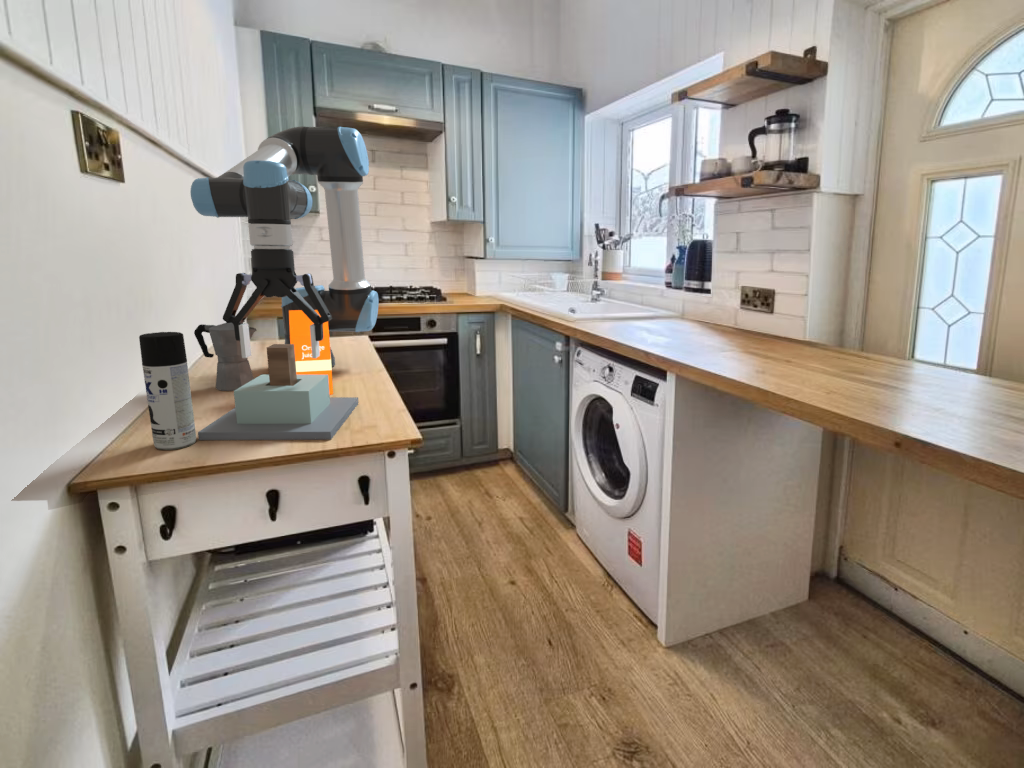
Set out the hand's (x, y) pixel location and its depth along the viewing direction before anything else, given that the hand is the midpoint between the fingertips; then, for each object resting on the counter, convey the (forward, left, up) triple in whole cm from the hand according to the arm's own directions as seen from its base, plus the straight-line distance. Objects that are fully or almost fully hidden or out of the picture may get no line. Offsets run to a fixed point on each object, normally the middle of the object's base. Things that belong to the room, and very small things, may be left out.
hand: (281, 357), depth 112 cm
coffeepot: (-28, -23, -13) cm, 39 cm away
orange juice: (-23, -1, -13) cm, 27 cm away
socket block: (0, 0, -13) cm, 13 cm away
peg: (0, 0, -12) cm, 12 cm away
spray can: (+14, -15, -13) cm, 25 cm away
